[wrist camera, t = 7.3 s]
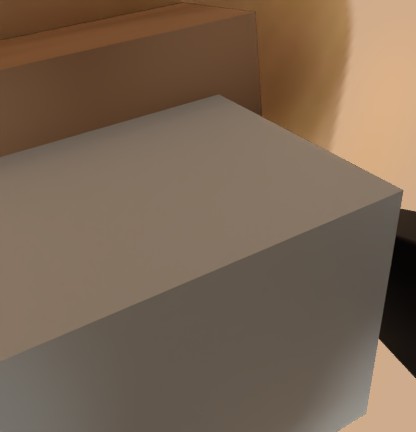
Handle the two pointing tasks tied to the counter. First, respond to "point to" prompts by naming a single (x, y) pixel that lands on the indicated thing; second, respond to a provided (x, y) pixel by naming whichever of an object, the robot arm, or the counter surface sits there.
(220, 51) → the base block
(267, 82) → the counter surface
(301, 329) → the cube
